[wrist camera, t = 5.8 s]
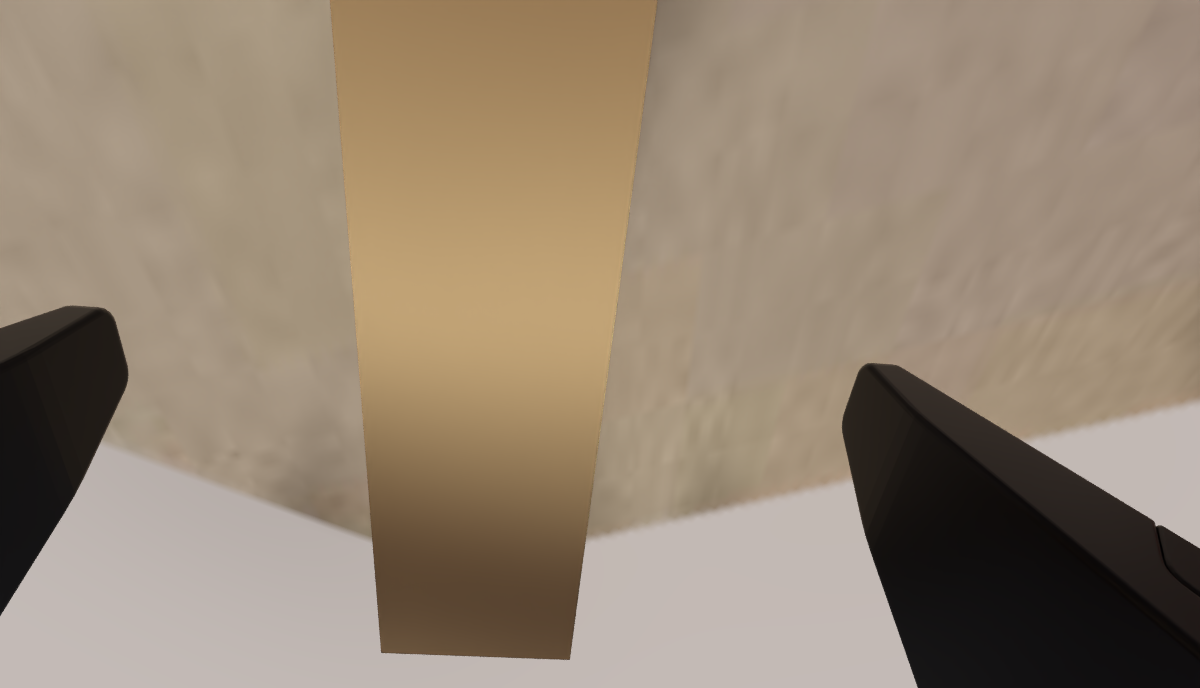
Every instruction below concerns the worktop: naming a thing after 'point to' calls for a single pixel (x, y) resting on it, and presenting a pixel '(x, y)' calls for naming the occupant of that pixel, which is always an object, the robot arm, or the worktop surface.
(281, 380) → the worktop surface
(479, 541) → the tan rectangular bar
